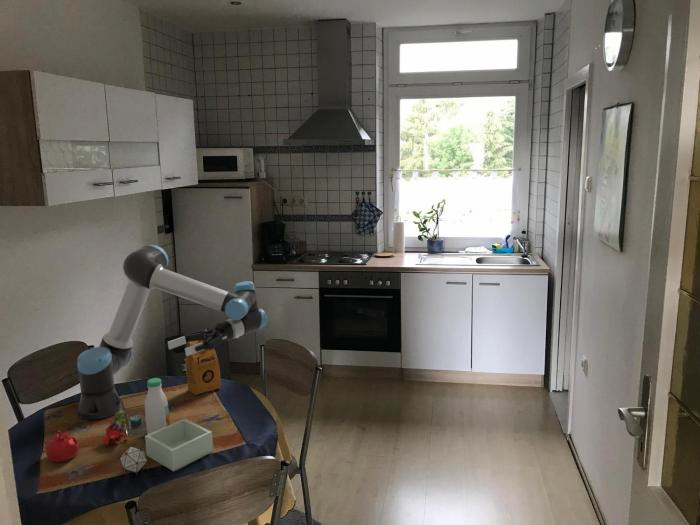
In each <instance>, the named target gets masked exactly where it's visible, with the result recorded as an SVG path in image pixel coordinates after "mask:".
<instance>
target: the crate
mask: <svg viewBox="0 0 700 525" xmlns="http://www.w3.org/2000/svg"><path fill="white" fill-rule="evenodd" d="M144 439H145V447H146V448H145V451H146V456H147V457H149V458H150V459H152V460H153V461H155V462H157V463H159V464H160V465H162V466H164V467H165V468H168V469H169V470H170V471H171V472H173V473H174V472H175V471H178V470H180V469H182V468H184V467H186V466H189V464H191V463H194V462H196V461H197V460H199V459H202V458H204V457H206V456H207V455H210V454H211V453H213V452H214V441H213V431H211V430H210V429H208V428H205V427H204V426H201V425H199V424H197V423H195V422H193V421H190V420H189V419H186V418H183V419H180V420H178V421H176V422H174V423H170V425H169V426H166V427H164V428H162V429H159V430H157V431H155V432H153V433H150V434H148V435H145V436H144Z"/></svg>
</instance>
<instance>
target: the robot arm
mask: <svg viewBox="0 0 700 525" xmlns="http://www.w3.org/2000/svg"><path fill="white" fill-rule="evenodd" d="M168 265H169V256H168V254H167V252H166V251H165V250H164V249H163V248H162V247H161V246H159V245H155V244H148V245H144V246H142V247H141V248H139V249H137V250H135V251H133V252H130V253H129V254H128V255H127V256H126V257H125V259H124V260H123V264H122V267H123V268H122V269H123V272H124V273H123V274H124V276H126V278H127V279H128V282H127V285H126V287H125V291H124V293H123V295H122V298H121V301H120V303H119V305H118V308H117V310H116V313H115V316H114V318H113V322H112V324H111V326H110V329H109V331H108V332H106V333H104V334H103V336H102V338H101V341H100V343H99V346H96V347H95V346H94V347H92V348H89V349H85V350H84V351H82V352H81V353H80V354H79V355H78V357H77V360H76V361H77V366H76V367H77V373H78V380H79V387H80V388H79V389H80V394H81V395H80V400H79V403H78V408H77V412H78V417H79V419H80V418H81V419H82V420H87V421H95V420H103V419H106V418H109V417H112V416H115V414H116V413H117V412H119V411H122V406H123V405H122V400H121V398H120V396H119V394H118V392H117V391H116V388H115V378H114V375H115V374H117V373H118V372H119V371H120V370H121V369H122V368H123V367H125V366H126V365H127V364H128V363H129V361H130V359H131V357H132V356H133V346H134V341H133V339H132V337H133V335H134V332H135V330H136V328H137V325H138V323H139V320H140V317H141V315H142V313H143V310H144V307H145V305H146V303H147V299H148V298H149V295H150V292H151V290H154V289H157V290H159V291H163V292H166V293H168V294H171V295H174V296H176V297H180V298H183V299H185V300H188V301H191V302H193V303H196V304H200V305H202V306H205V307H208V308H210V309H213V310H217V311H219V312H221V313H224V314H225V315H226V317H227V318H228V319H226V320H223V321H220V322H217V323H216V324H215V328H214V329H210V328H209V327H208V328H205V329H201V330H197V331H191V332H187V333H183V334H182V336H181V337H178V338H175V339H172V340H169V341H167V346H168V347H167V348H168V350H172V349H175V348H177V347H181V346H183V345H187V342H192V341H199V340H203V343H204V344H203V343H202V342H201V343H198V344H195V345H193V346H190V347H187V346H186V347H185V348H184V352H185V357H186V356H189V355H192V354H194V353H197V352H200V351H202V350H204V349H205V350H207V349H209V350H212V349H213V348H214V349H215V348H216V347H218V346H219V345H222V343H226V342H229V341H232V340H234V339H239V338H240V337H241V336H244V335H247V334H249V333H252V332H256V331H258V330H260V329H262V328H264V327H265V326H267V324H268V316H267V314H266V312H265V311H264V309H262V308H259V305H258V299H257V293H256V287H255V284H254V282H253V281H251V280H247V281H246V280H245V281H241V282H240V281H239V282H237V283H236V284H235V285H234V286H233V287H234V293H233V292H229V291H228V290H224V289H222V288H218V287H216V286H213V285H210V284H208V283H205V282H202V281H199V280H196V279H193V278H191V277H188V276H186V275H183V274H180V273H177V272H175V271H172V270H169V269H167V268H168Z"/></svg>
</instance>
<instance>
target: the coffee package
mask: <svg viewBox="0 0 700 525" xmlns="http://www.w3.org/2000/svg"><path fill="white" fill-rule="evenodd" d="M201 342H202V343H203V340H199V341H192V342H187V344H186V348H187V347H190V346H193V345H195V344H198V343H201ZM203 344H204V343H203ZM219 364H220V363H219V359H218V356H217V352H216V350H215V348H213V349H212V350H209V349H207V350H205V349H204V350H202V351H200V352H197V353H194V354H192V355H189V356H186V355H185V365H186V366H185V367H186V369H185V370H186V377H187V378H186V380H187V381H186V382H187V391H189V392H191V394H193V395H195V396H196V395H200V394H203V393H207V392H212V391H215V390H220V389H221V386H222V382H221V371H220V365H219Z"/></svg>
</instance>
